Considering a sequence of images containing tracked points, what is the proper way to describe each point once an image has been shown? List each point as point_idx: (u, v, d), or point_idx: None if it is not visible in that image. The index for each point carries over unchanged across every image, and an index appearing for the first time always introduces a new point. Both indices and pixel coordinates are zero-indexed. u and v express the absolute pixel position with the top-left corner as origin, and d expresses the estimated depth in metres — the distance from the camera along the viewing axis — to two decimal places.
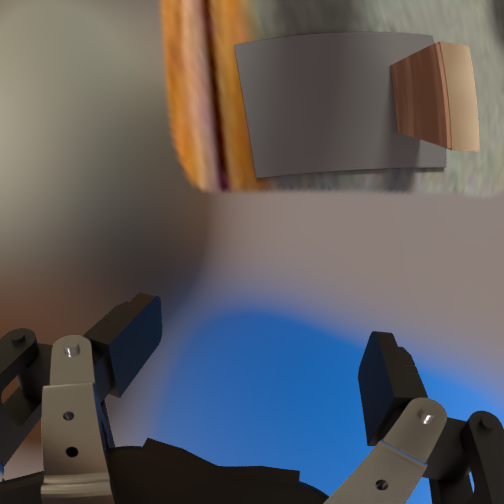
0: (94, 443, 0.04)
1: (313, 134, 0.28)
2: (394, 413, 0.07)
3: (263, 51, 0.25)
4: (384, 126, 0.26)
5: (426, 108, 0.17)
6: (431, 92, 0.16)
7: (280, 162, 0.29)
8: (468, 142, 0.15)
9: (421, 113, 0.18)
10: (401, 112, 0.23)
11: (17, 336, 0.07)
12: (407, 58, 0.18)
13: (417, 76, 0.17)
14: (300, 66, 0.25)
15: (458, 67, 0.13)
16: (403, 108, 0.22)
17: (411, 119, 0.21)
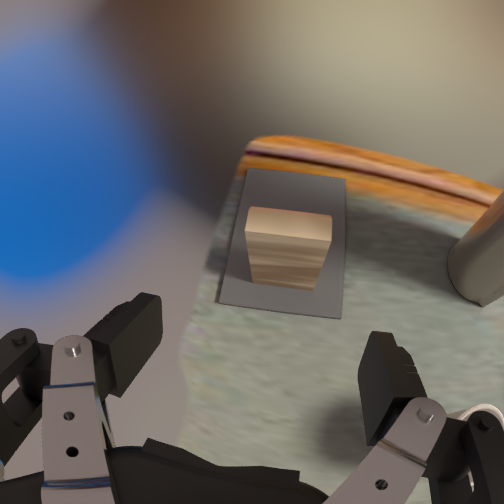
0: (94, 443, 0.04)
1: (268, 205, 0.40)
2: (393, 413, 0.07)
3: (336, 192, 0.41)
4: None
5: None
6: None
7: (253, 182, 0.42)
8: (253, 222, 0.25)
9: None
10: None
11: (18, 336, 0.07)
12: None
13: None
14: (320, 209, 0.40)
15: (312, 226, 0.25)
16: None
17: None
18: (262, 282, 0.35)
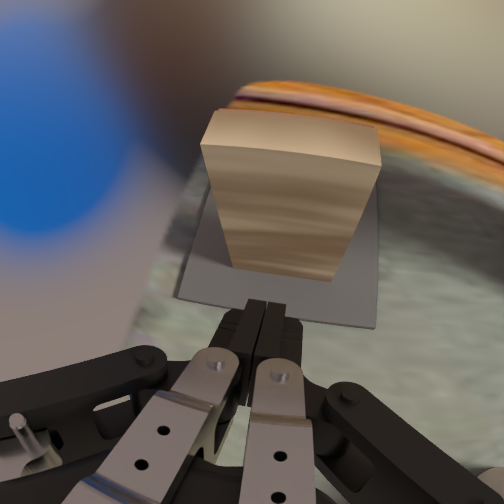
0: (170, 468, 0.04)
1: None
2: None
3: None
4: None
5: None
6: None
7: None
8: (219, 130, 0.12)
9: None
10: None
11: (144, 356, 0.07)
12: None
13: None
14: None
15: (339, 138, 0.11)
16: None
17: None
18: (248, 266, 0.21)
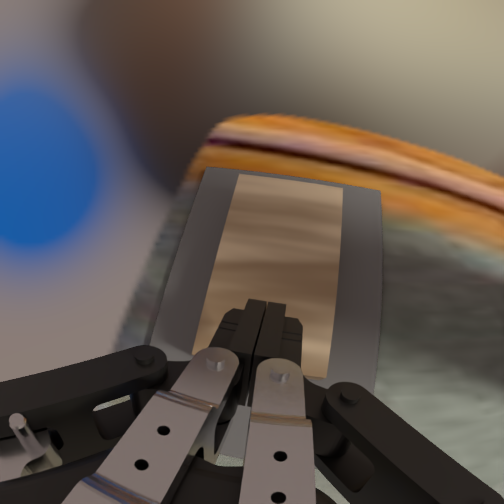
0: (170, 468, 0.04)
1: None
2: None
3: (365, 216, 0.21)
4: None
5: None
6: None
7: (213, 194, 0.23)
8: None
9: None
10: None
11: (144, 356, 0.07)
12: None
13: None
14: None
15: None
16: None
17: None
18: None
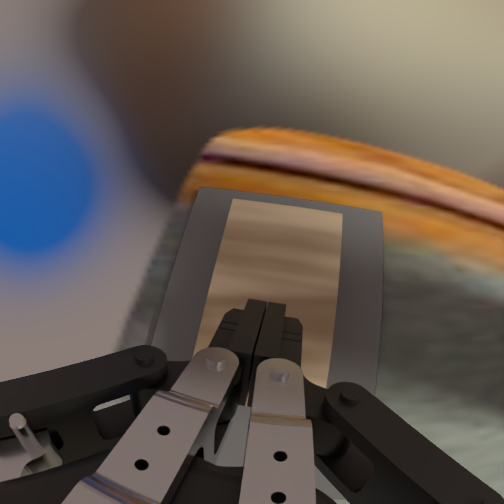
0: (170, 468, 0.04)
1: None
2: None
3: (365, 240, 0.21)
4: None
5: None
6: None
7: (206, 217, 0.22)
8: None
9: None
10: None
11: (143, 355, 0.07)
12: None
13: None
14: None
15: None
16: None
17: None
18: None
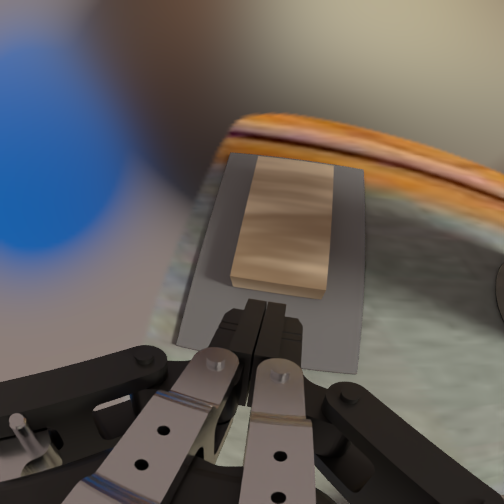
0: (170, 468, 0.04)
1: None
2: None
3: (351, 187, 0.29)
4: None
5: None
6: None
7: (237, 172, 0.30)
8: None
9: None
10: None
11: (143, 355, 0.07)
12: None
13: None
14: None
15: None
16: None
17: None
18: (247, 270, 0.23)
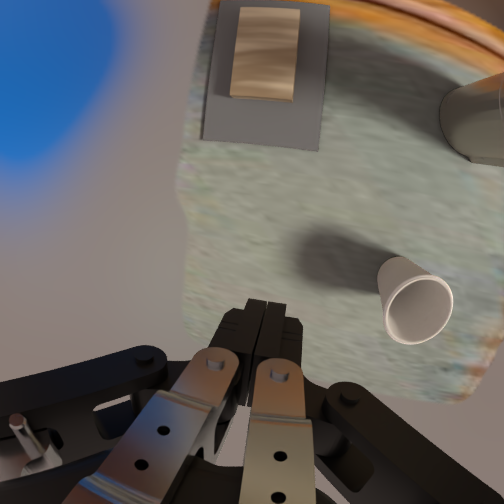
0: (170, 468, 0.04)
1: None
2: None
3: (318, 20, 0.29)
4: None
5: None
6: None
7: (227, 16, 0.30)
8: None
9: None
10: None
11: (144, 356, 0.07)
12: None
13: None
14: (300, 39, 0.30)
15: None
16: None
17: None
18: (240, 90, 0.31)
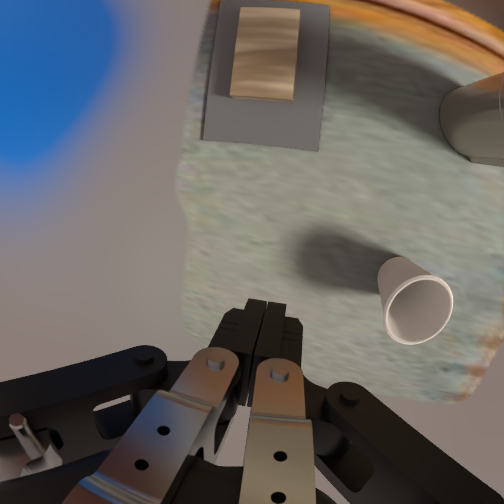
0: (170, 468, 0.04)
1: None
2: None
3: (318, 20, 0.29)
4: None
5: None
6: None
7: (227, 16, 0.30)
8: None
9: None
10: None
11: (143, 356, 0.07)
12: None
13: None
14: (300, 39, 0.30)
15: None
16: None
17: None
18: (240, 90, 0.31)
